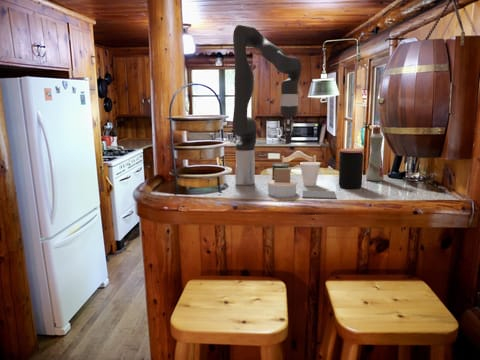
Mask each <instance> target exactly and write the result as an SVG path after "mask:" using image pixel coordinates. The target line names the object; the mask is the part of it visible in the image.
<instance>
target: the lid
mask: <svg viewBox="0 0 480 360" xmlns="http://www.w3.org/2000/svg"><path fill="white" fill-rule="evenodd" d="M291 172H292V171H291V168H290V167H289V168H275V169H274V180H271V179H270V180H268V182H267V184H269V185H271V186H277V187H289V186H295V185H296V186H297V184H298V181H296V180H293V179H292V178H291V174H292V173H291Z"/></svg>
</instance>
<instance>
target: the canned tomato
mask: <svg viewBox="0 0 480 360" xmlns="http://www.w3.org/2000/svg"><path fill="white" fill-rule="evenodd" d="M271 166H272V168H271V170H272V173H271V174H272V175H271V177H272V180H274V169H275V168H290V164H289V163H283V162H275V163H272V165H271Z"/></svg>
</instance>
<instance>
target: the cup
mask: <svg viewBox="0 0 480 360" xmlns="http://www.w3.org/2000/svg"><path fill="white" fill-rule="evenodd" d="M299 164H300V171H301V178H302V183H303V186H305V187H315V186H317V181H318V176H319V172H320V166H321V164H322V163H321V162H317V161H301V162H300V163H299Z"/></svg>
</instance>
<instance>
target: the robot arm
mask: <svg viewBox="0 0 480 360" xmlns="http://www.w3.org/2000/svg"><path fill="white" fill-rule="evenodd" d="M232 33H233V36H232V42H233V43H232V44H233V53H234V55H233V56H234V100H233V101H234V103H233V104H234V105H233V106H234V108H233V118H232V132H233V134H235V136H237V137H239V141H238V142H237V143H236V145H235V166H234V168H235V172H234V173H235V176H234V177H235V181H234V182H235V185H239V186H252V185H255V183H256V182H255V175H256V174H255V171H256V170H255V146H256V142H257V123H256V121H255V119H254V118H252V117H250V116H248V106H249V103H250V101H251V98H252V95H253V93H254V90H255V89H254V87H255V84H254V83H255V80H254V79H255V76H254V71H253V69H252V66H251V65H250V63H249V61H248V56H247V48H254V49H256V50H257V51H259V52H260V53H261V56H262V57H263V58H264V59H265V60H267V62H269V63H271V64H272V65H273V66H274V68H275V69H276V70H277V71H278V72H280V73H281V74H284V75H287V79H285V80H283V81H281V84H280V85H281V86H280V92H281V93H280V105H279V107H280V112H279V113H280V114H279V115H280V117H285V120H283V121H284V123H283V125H284V134H285V144H286V145H290V144H292V143H291V142H292V134H293V130H294V120H293V118H292V117H297V116H299V95H298V93H299V88H298V85H299V81H300V79H301V74H302V71H303V66H302V65H303V64H302V61H301V59H300V58H299V57H296V56H287V55H286V53H285V51H284V50H283V49H282V48H280V47H278V46H277V45H275V44H273V43H272V42H271V41H269V40H268V39H267V38H266V37H265V36H264V35H263V34H262V33H261V32H260V31H259V30H258V29H257V28H256V27H254V26H250V25H246V24H237V25H236V26H235V28H234V30H233V32H232Z"/></svg>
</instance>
